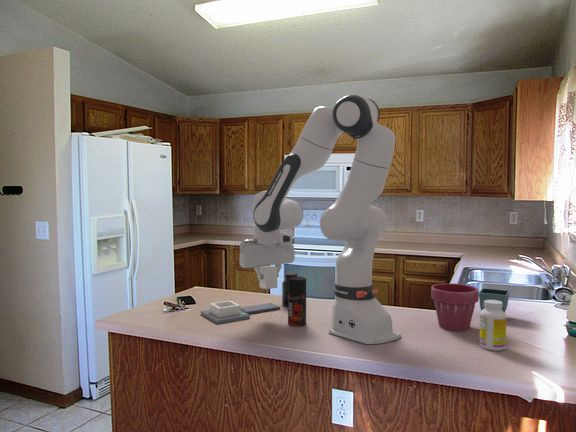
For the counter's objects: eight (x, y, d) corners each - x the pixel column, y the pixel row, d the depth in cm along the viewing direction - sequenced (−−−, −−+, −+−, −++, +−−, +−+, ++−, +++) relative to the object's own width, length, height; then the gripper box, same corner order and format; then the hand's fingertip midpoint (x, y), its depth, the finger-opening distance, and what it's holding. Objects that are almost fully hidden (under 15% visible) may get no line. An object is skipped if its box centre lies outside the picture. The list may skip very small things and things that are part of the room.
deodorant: (309, 322, 150) (309, 277, 149) (300, 327, 145) (300, 280, 144) (293, 320, 153) (293, 276, 152) (284, 324, 148) (284, 279, 147)
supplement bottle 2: (509, 347, 127) (510, 301, 126) (501, 353, 122) (502, 305, 121) (484, 341, 131) (485, 297, 130) (475, 347, 126) (476, 301, 125)
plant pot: (421, 323, 150) (422, 284, 149) (456, 319, 154) (457, 281, 154) (450, 336, 136) (451, 293, 135) (488, 331, 141) (489, 290, 140)
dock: (249, 318, 155) (249, 306, 155) (217, 324, 149) (217, 311, 148) (231, 309, 167) (231, 298, 167) (200, 314, 160) (200, 302, 160)
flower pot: (481, 312, 163) (482, 287, 162) (509, 316, 158) (509, 290, 157) (477, 318, 155) (478, 292, 154) (506, 322, 150) (507, 295, 150)
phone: (270, 305, 173) (270, 302, 173) (280, 309, 167) (280, 306, 167) (237, 310, 165) (237, 307, 165) (246, 314, 160) (246, 312, 159)
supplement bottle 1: (298, 307, 170) (298, 275, 169) (280, 306, 171) (280, 274, 170) (301, 303, 176) (301, 272, 176) (284, 302, 178) (284, 271, 177)
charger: (277, 287, 156) (276, 267, 156) (266, 289, 154) (265, 268, 153) (270, 285, 160) (270, 265, 160) (259, 287, 157) (258, 267, 157)
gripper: (243, 240, 148) (245, 283, 148) (296, 236, 159) (297, 276, 159) (235, 239, 153) (236, 280, 154) (286, 235, 164) (288, 274, 165)
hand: (268, 278), depth 157 cm, fingers closed on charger, 4 cm apart
